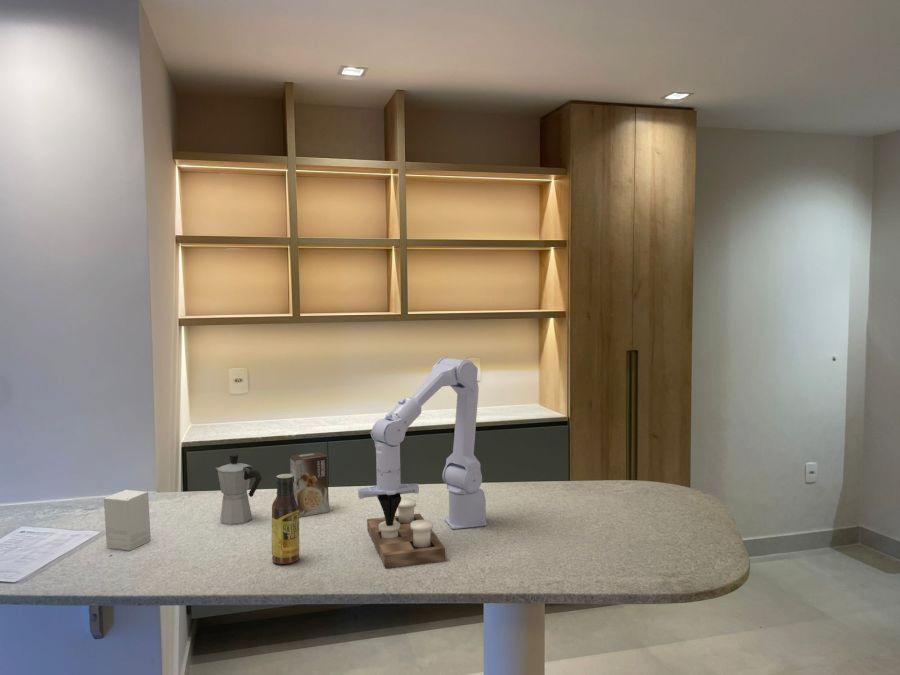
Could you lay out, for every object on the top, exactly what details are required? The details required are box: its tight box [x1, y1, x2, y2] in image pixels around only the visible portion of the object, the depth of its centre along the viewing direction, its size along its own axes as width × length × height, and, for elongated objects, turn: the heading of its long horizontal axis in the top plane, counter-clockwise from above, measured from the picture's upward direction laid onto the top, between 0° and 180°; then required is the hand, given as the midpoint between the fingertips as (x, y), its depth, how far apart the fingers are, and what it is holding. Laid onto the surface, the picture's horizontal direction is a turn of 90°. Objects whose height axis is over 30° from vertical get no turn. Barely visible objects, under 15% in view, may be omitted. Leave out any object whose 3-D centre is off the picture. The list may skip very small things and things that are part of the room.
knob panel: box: [366, 513, 446, 569], centre depth 168 cm, size 14×25×3 cm, turn 16°
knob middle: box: [379, 521, 400, 539], centre depth 166 cm, size 5×5×5 cm
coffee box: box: [289, 451, 330, 518], centre depth 192 cm, size 9×6×16 cm
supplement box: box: [103, 489, 152, 552], centre depth 170 cm, size 7×7×13 cm
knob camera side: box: [410, 519, 434, 548], centre depth 160 cm, size 5×5×5 cm
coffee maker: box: [215, 453, 263, 526], centre depth 186 cm, size 15×9×18 cm, turn 68°
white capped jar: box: [397, 497, 417, 523], centre depth 176 cm, size 5×5×5 cm
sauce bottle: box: [271, 473, 300, 565], centre depth 158 cm, size 7×6×20 cm
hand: (389, 524), depth 166 cm, fingers closed, pressing on knob middle
